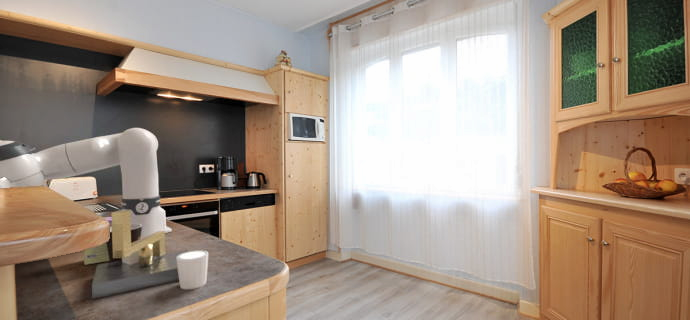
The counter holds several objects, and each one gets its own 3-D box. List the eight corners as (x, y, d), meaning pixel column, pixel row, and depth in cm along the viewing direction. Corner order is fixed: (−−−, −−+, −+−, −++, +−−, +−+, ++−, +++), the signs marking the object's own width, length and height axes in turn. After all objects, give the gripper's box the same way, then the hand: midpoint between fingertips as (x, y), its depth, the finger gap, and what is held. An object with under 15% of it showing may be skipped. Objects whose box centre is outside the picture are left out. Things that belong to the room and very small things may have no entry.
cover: (122, 261, 80) (121, 250, 80) (138, 257, 83) (138, 245, 83) (130, 264, 78) (129, 252, 78) (147, 259, 81) (146, 248, 81)
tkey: (156, 254, 85) (155, 200, 84) (167, 254, 85) (166, 200, 84) (112, 279, 69) (110, 212, 68) (126, 279, 69) (123, 212, 68)
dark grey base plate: (97, 276, 78) (97, 264, 78) (186, 260, 89) (186, 249, 89) (92, 298, 67) (91, 285, 66) (195, 276, 78) (195, 264, 78)
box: (130, 252, 96) (128, 214, 96) (130, 257, 92) (128, 217, 91) (86, 259, 90) (84, 219, 90) (84, 265, 86) (82, 222, 85)
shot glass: (188, 293, 69) (187, 261, 69) (170, 286, 73) (170, 256, 72) (215, 281, 75) (214, 252, 75) (198, 275, 79) (197, 248, 78)
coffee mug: (123, 270, 82) (122, 232, 82) (96, 267, 84) (95, 230, 84) (158, 255, 94) (157, 222, 93) (134, 253, 95) (133, 220, 95)
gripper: (12, 243, 67) (95, 233, 75) (-26, 275, 50) (86, 257, 58) (11, 214, 67) (94, 206, 75) (-28, 236, 50) (84, 223, 58)
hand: (90, 229), depth 66 cm, fingers closed
